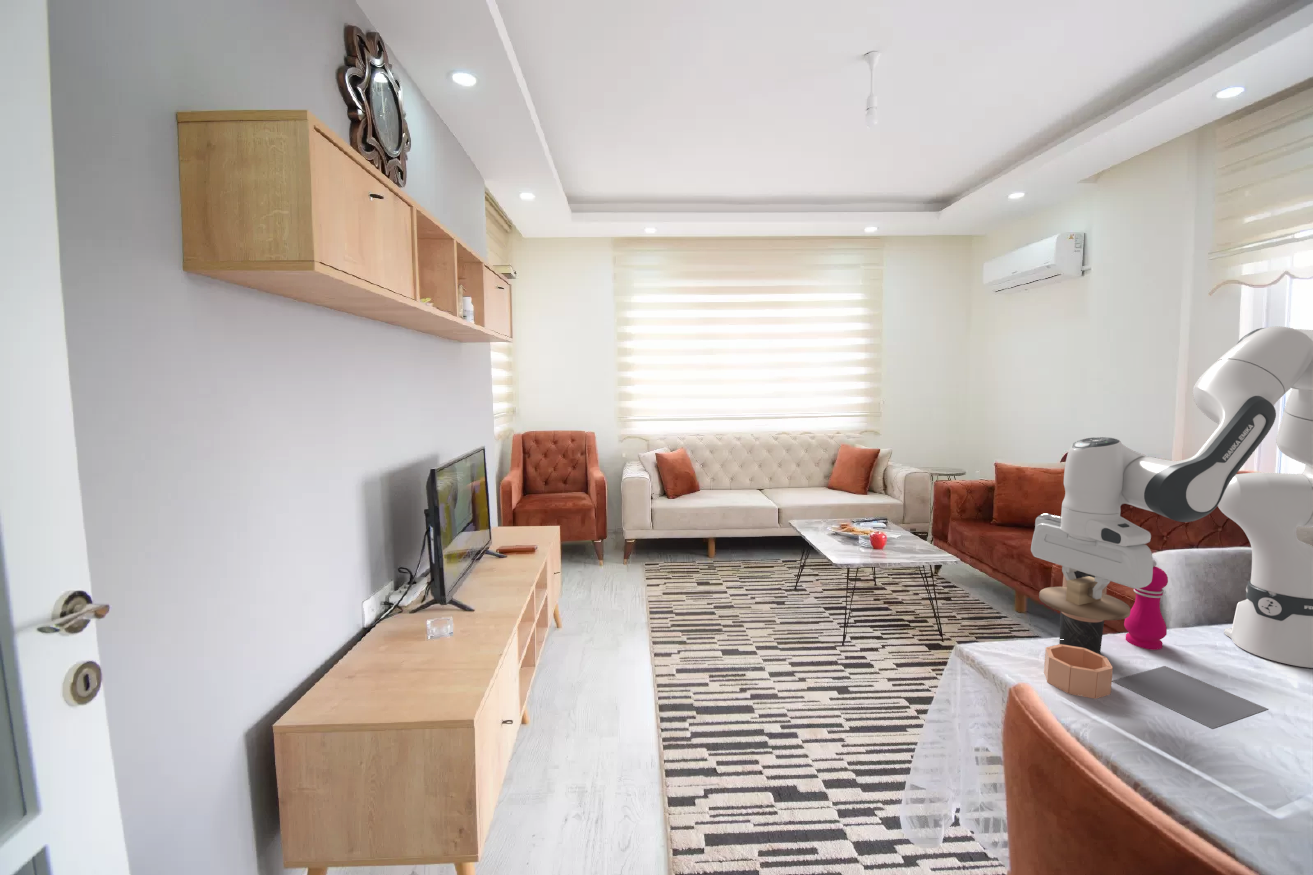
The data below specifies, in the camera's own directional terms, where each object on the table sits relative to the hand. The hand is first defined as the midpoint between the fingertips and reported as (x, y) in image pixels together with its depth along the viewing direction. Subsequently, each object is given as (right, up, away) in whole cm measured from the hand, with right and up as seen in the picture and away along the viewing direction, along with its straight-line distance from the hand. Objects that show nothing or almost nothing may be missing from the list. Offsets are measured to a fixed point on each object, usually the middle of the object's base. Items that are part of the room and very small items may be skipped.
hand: (1083, 594), depth 110 cm
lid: (0, -2, 0) cm, 2 cm away
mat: (+18, -19, -2) cm, 26 cm away
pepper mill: (+27, -17, +18) cm, 36 cm away
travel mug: (+10, -17, +15) cm, 25 cm away
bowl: (0, -19, +2) cm, 19 cm away
